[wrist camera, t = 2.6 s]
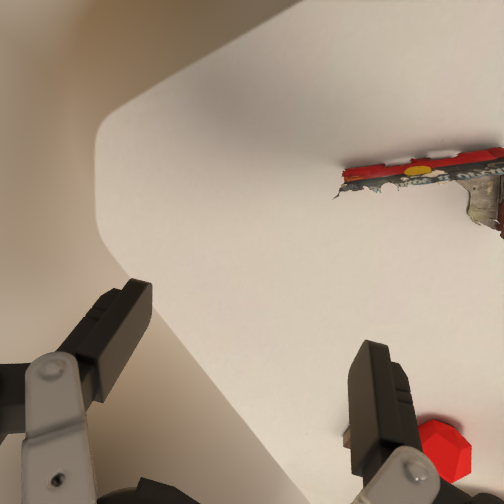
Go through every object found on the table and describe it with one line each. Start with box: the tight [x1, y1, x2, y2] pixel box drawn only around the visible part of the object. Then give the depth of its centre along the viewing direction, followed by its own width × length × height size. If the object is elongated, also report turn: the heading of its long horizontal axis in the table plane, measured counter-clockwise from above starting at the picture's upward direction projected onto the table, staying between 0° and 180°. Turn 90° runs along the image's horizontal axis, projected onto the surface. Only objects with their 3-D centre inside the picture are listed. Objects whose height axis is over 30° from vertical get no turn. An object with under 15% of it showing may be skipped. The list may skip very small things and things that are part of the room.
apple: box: [418, 419, 472, 484], centre depth 41 cm, size 7×7×8 cm
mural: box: [332, 147, 504, 239], centre depth 26 cm, size 12×7×6 cm, turn 103°
